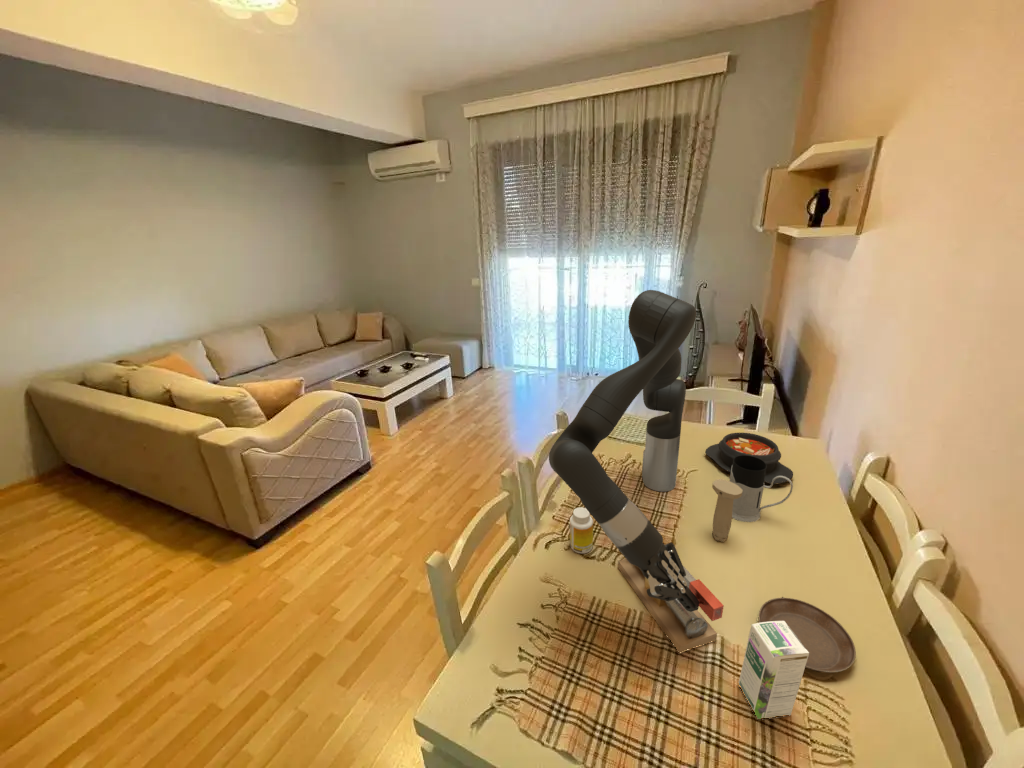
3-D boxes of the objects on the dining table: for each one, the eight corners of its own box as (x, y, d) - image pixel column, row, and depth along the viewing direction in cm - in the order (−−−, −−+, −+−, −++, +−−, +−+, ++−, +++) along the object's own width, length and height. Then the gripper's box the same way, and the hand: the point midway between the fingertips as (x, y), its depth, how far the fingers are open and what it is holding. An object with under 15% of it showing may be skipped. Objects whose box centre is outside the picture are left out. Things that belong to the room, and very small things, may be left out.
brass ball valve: (624, 562, 96) (626, 530, 93) (644, 556, 98) (647, 525, 94) (684, 644, 77) (689, 607, 74) (708, 635, 79) (714, 599, 75)
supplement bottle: (597, 549, 103) (598, 515, 99) (578, 557, 100) (578, 523, 97) (584, 535, 107) (584, 502, 104) (565, 543, 105) (565, 509, 101)
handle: (725, 549, 100) (734, 497, 95) (701, 534, 105) (708, 483, 100) (737, 541, 102) (746, 489, 97) (714, 526, 108) (721, 476, 102)
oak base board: (618, 567, 97) (618, 560, 96) (648, 558, 99) (649, 551, 98) (679, 654, 77) (680, 646, 76) (715, 640, 79) (717, 633, 78)
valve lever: (656, 558, 85) (657, 547, 84) (667, 555, 86) (668, 544, 85) (710, 621, 71) (712, 609, 70) (723, 617, 72) (725, 605, 71)
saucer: (874, 676, 72) (879, 665, 71) (791, 686, 71) (794, 675, 70) (810, 603, 86) (813, 593, 85) (740, 611, 85) (742, 601, 84)
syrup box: (736, 684, 72) (748, 622, 66) (769, 680, 72) (784, 618, 67) (757, 721, 66) (772, 657, 61) (793, 716, 67) (811, 652, 62)
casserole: (804, 474, 126) (810, 450, 123) (770, 497, 117) (775, 471, 114) (726, 442, 146) (729, 420, 143) (692, 459, 137) (694, 437, 134)
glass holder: (728, 497, 118) (735, 450, 113) (787, 516, 110) (798, 467, 104) (719, 513, 112) (726, 465, 107) (781, 535, 103) (792, 484, 98)
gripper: (636, 547, 68) (709, 633, 66) (654, 501, 78) (717, 575, 77) (602, 561, 72) (670, 643, 71) (623, 516, 83) (683, 586, 82)
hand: (694, 607), depth 74 cm, fingers closed
